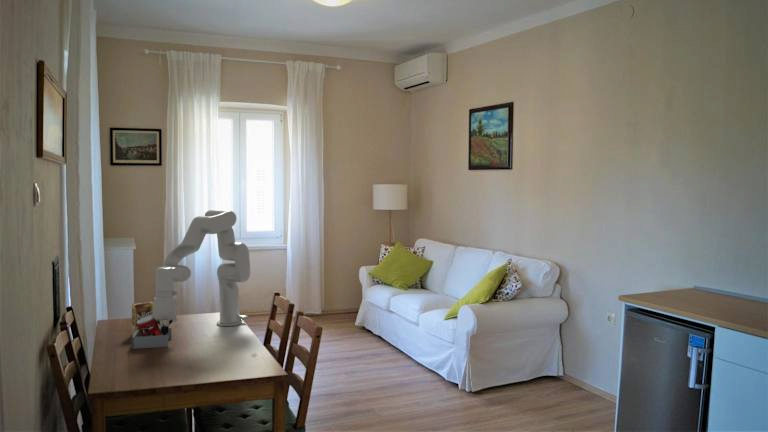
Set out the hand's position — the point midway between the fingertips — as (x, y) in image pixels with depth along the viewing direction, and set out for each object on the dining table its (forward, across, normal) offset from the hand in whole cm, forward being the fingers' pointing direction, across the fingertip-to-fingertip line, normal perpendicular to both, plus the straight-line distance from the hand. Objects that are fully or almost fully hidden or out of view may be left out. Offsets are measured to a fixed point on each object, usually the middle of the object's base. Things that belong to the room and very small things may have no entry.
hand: (164, 334), depth 266 cm
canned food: (+3, +5, 0) cm, 5 cm away
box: (+4, +5, -1) cm, 7 cm away
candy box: (+4, +12, -19) cm, 22 cm away
